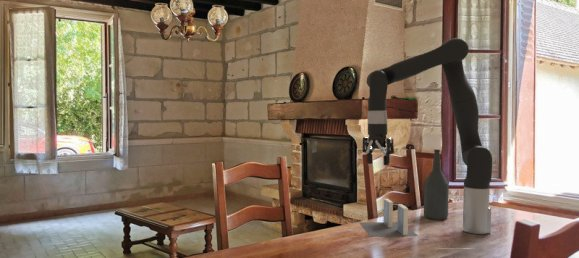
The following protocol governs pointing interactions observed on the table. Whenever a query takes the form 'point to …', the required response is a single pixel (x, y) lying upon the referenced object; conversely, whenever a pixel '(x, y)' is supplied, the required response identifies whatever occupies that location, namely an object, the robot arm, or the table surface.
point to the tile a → (388, 212)
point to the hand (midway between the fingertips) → (377, 164)
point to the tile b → (402, 219)
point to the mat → (383, 229)
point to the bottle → (436, 192)
